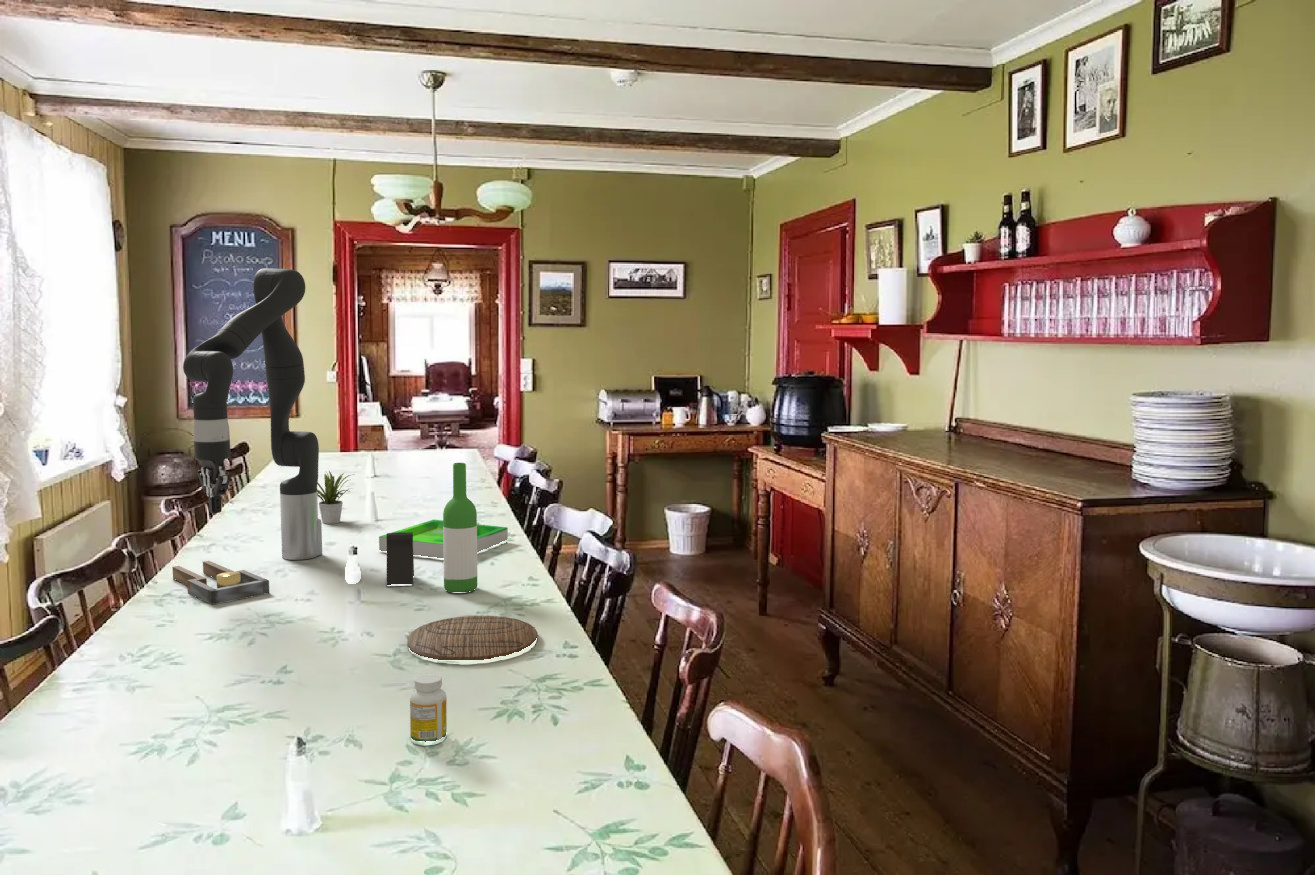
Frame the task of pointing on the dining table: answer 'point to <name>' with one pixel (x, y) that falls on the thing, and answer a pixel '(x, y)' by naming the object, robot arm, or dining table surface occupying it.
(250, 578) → the chute
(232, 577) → the tan rounded block
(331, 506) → the house plant
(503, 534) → the tray
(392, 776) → the dining table surface
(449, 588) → the wine bottle
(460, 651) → the trivet
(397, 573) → the door stopper
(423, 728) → the supplement bottle
